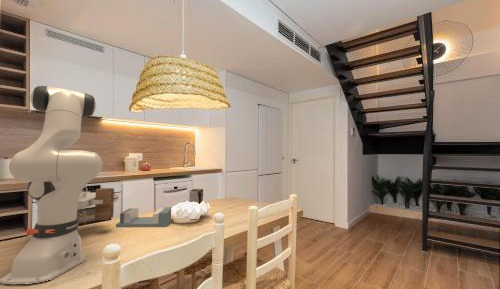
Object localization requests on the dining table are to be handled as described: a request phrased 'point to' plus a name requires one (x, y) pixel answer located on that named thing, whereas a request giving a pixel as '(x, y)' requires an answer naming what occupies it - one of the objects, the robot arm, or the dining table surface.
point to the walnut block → (107, 207)
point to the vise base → (151, 219)
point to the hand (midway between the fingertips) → (106, 200)
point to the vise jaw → (129, 215)
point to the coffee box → (196, 195)
